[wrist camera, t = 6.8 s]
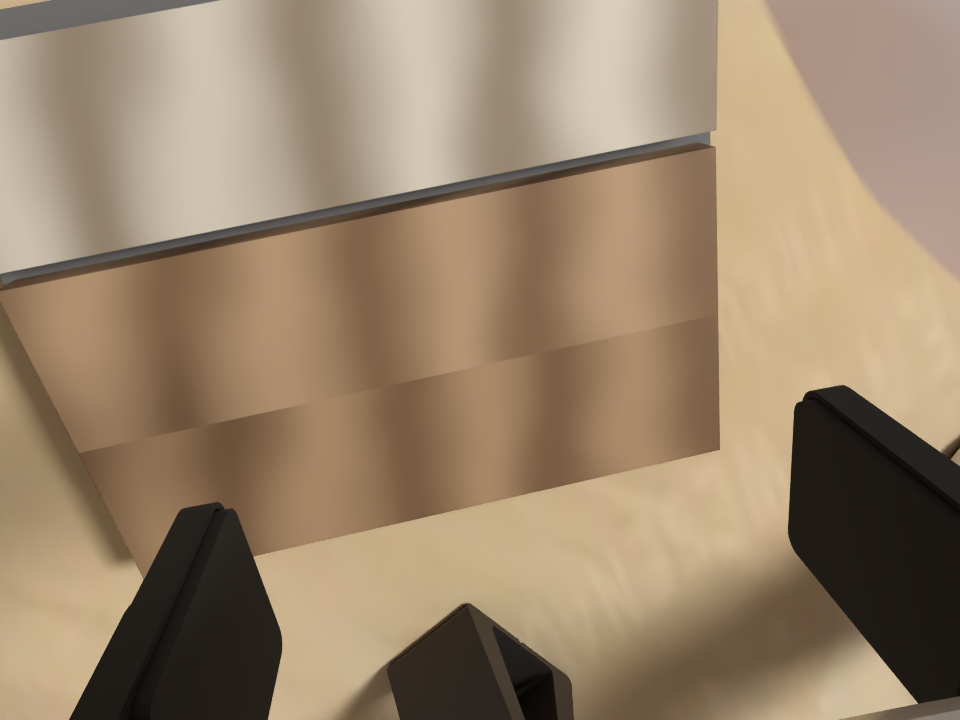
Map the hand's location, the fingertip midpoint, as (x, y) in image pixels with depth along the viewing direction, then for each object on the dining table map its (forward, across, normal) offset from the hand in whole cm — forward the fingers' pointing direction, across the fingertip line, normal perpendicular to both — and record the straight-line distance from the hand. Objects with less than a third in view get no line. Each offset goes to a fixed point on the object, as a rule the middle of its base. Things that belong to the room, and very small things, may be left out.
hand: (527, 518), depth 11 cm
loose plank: (+16, +3, -7) cm, 18 cm away
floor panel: (+18, +3, 0) cm, 18 cm away
